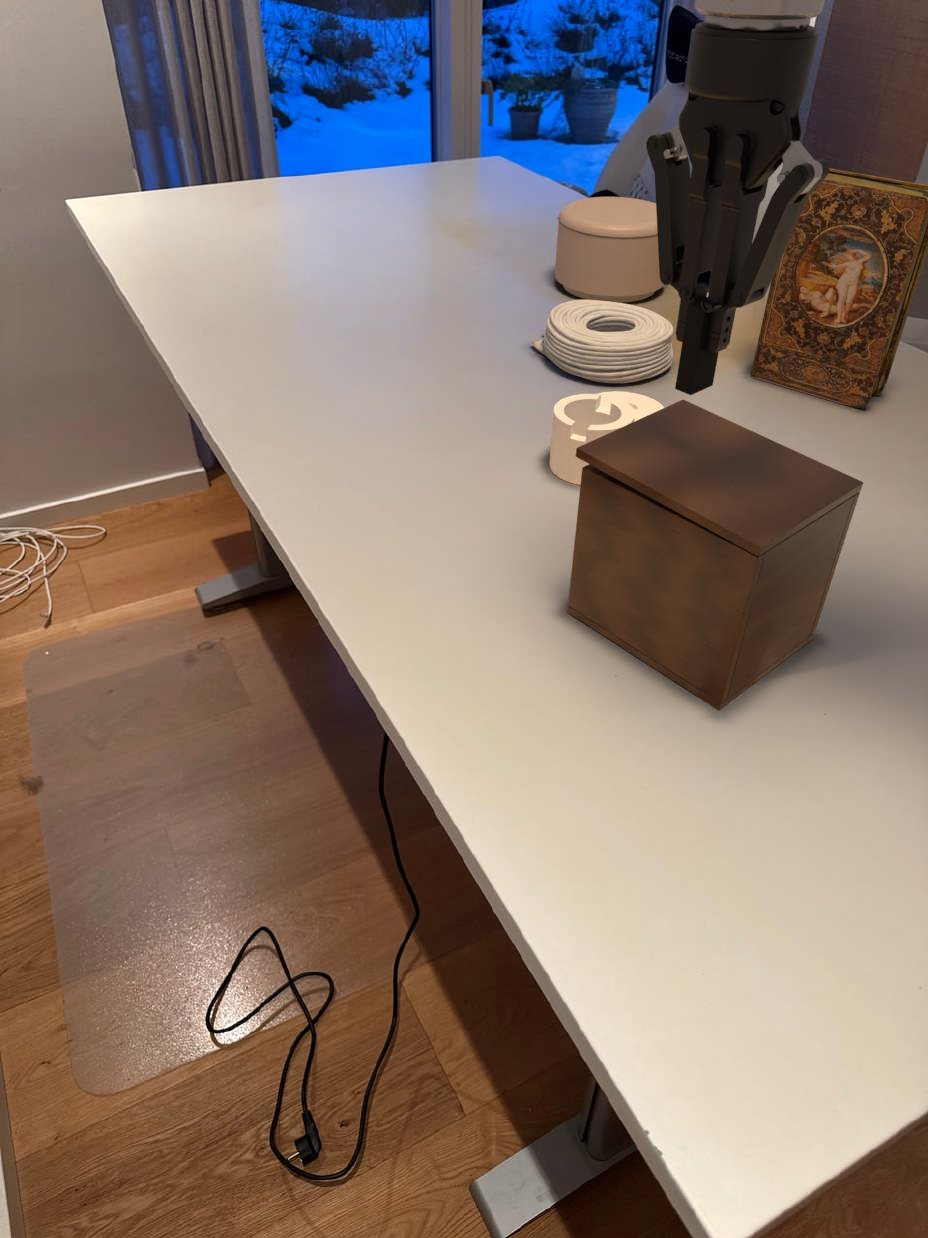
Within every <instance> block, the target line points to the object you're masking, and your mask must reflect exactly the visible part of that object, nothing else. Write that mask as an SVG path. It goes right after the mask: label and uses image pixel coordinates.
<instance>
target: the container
mask: <svg viewBox="0 0 928 1238" xmlns="http://www.w3.org/2000/svg"><path fill="white" fill-rule="evenodd" d="M557 220H558V224H557V226H558V227H557V238H556V253H555V265H554V266H555V268H554V278H555V280H556V281H557V282H558V283H559V284H561V285H562V286H563V289H564V290H565V291H566V292H568V293H569V294H571V295H573V296H575V297H578V298H581V299H583V300H599V301H610V302H617V303H631V302H637V301H642V300H645V299H647V298H650V297H651V296H653V295H654V294H655V293H656V292H657V291H658V290H660V289H662V288H663V287H664V286H665V285H664V284H663V283H662V282H661V280H660V273H659V252H658V232H657V212H656V202H653V201H650V200H645V199H639V198H633V197H624V196H594V197H587V198H586V197H585V198H581V199H576V200H573V201H572V202H571V201H570V203H568V204H566V205H565V206H563V208H561V210H560V211H559V214H558V217H557Z"/></svg>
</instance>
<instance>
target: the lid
mask: <svg viewBox="0 0 928 1238" xmlns="http://www.w3.org/2000/svg"><path fill="white" fill-rule="evenodd" d="M576 457H577V458H579V459H581V460H583V461H585V462H586V463H588V464H590V465H592V466H594V467H596V468H597V469H599V470H601V471H603V472H605V473H607V474H608V475H610V476H612V477H614V478H616V479H618V480H619V481H621V482H623V483H625V484H627V485H628V486H630V487H632V488H634V489H636V490H638V491H639V492H641V493H643V494H645V495H647V496H649V497H650V498H652V499H654V500H656V501H658V502H660V503H661V504H663V505H665V506H667V507H669V508H670V509H672V510H674V511H676V512H678V513H680V514H681V515H683V516H685V517H687V518H689V519H691V520H692V521H694V522H696V523H698V524H700V525H701V526H703V527H705V528H707V529H709V530H711V531H712V532H714V533H716V534H718V535H720V536H722V537H723V538H725V539H727V540H729V541H731V542H733V543H734V544H736V545H738V546H740V547H742V548H743V549H745V550H747V551H749V552H751V553H753V554H754V555H756V556H760V555H762V554H763V553H765V552H766V551H768V550H769V549H771V548H773V547H774V546H776V545H777V544H779V543H780V542H782V541H783V540H785V539H787V538H788V537H790V536H791V535H793V534H794V533H796V532H797V531H799V530H801V529H802V528H804V527H805V526H807V525H808V524H810V523H811V522H813V521H815V520H816V519H818V518H819V517H821V516H822V515H824V514H825V513H827V512H829V511H830V510H832V509H833V508H835V507H836V506H838V505H839V504H841V503H843V502H844V501H846V500H847V499H849V498H850V497H852V496H853V495H855V494H857V493H858V492H860V493H861V491H862V488H863V485H864V482H863V481H861V480H860V479H858V478H855V477H853V476H851V475H848V474H846V473H844V472H843V471H840V470H838V469H835V468H833V467H832V466H829V465H828V464H825V463H822V462H820V461H818V460H816V459H814V458H812V457H809V456H807V455H805V454H803V453H800V452H798V451H796V450H794V449H792V448H790V447H788V446H785V445H783V444H781V443H779V442H777V441H775V440H772V439H770V438H768V437H766V436H764V435H762V434H759V433H758V432H755V431H753V430H750V429H749V428H746V427H744V426H742V425H740V424H737V423H735V422H733V421H732V420H730V419H727V418H724V417H722V416H720V415H718V414H716V413H714V412H711V411H709V410H707V409H705V408H703V407H701V406H699V405H696V404H694V403H692V402H689V401H687V400H686V399H681V400H679V401H676V402H675V403H672V404H669V405H667V406H664V408H663V409H661V410H659V411H657V412H654V413H652V414H650V415H648V416H646V417H643V418H641V419H639V420H637V421H635V422H633V423H630V424H628V425H626V426H624V427H622V428H619V429H617V430H615V431H613V432H611V433H608V434H606V435H604V436H602V437H600V438H597V439H595V440H593V441H591V442H589V443H586V444H584V445H582V446H580V447H578V448H577V449H576Z"/></svg>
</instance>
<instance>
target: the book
mask: <svg viewBox="0 0 928 1238" xmlns="http://www.w3.org/2000/svg"><path fill="white" fill-rule="evenodd" d="M927 254H928V184H922V183H917V182H911V181H906V180H899V179H894V178H888V177H882V176H877V175H876V176H875V175H870V174H864V173H859V172H853V171H848V170H840V169H835V168H830V167H829V173H828V175H827V177H826V178H825V179H824V180H823V181H822V182H821V184H820V185H819V186H818V187H817V188H816V189H815V190H814V192H813V193H812V194H811V195H810V196H809V197H808V199H807V201H806V204H805V206H804V208H803V210H802V213H801V215H800V217H799V219H798V222H797V224H796V226H795V229H794V231H793V233H792V235H791V238H790V240H789V242H788V244H787V247H786V249H785V251H784V254H783V256H782V258H781V260H780V263H779V265H778V267H777V269H776V272H775V274H774V276H773V278H772V281H771V283H770V285H769V288H768V295H767V299H766V303H765V308H764V312H763V318H762V320H761V321H762V322H761V325H760V326H761V327H760V330H759V335H758V339H757V345H756V349H755V354H754V359H753V363H752V367H751V372H750V375H751V377H752V378H753V379H757V380H760V381H763V382H767V383H769V384H773V385H777V386H780V387H783V388H787V389H790V390H794V391H797V392H800V393H804V394H807V395H810V396H813V397H817V398H821V399H824V400H827V401H830V402H834V403H837V404H841V405H844V406H845V405H846V406H849V407H853V408H857V409H863V408H866V407H867V406H868V405H869V403H870V401H871V399H872V397H873V396H877V395H879V394H881V393H882V392H883V391H884V389H885V387H886V385H887V383H888V379H889V377H890V374H891V370H892V368H893V364H894V361H895V358H896V355H897V352H898V347H899V345H900V342H901V338H902V334H903V332H904V328H905V325H906V322H907V319H908V316H909V313H910V310H911V306H912V302H913V300H914V296H915V293H916V290H917V287H918V284H919V280H920V277H921V274H922V271H923V267H924V264H925V261H926V258H927V256H928V255H927Z"/></svg>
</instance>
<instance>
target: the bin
mask: <svg viewBox="0 0 928 1238" xmlns="http://www.w3.org/2000/svg"><path fill="white" fill-rule="evenodd" d="M579 487H580V488H579V497H578V505H577V515H576V524H575V534H574V543H573V544H574V545H573V552H572V564H571V573H570V582H569V591H568V601H567V602H568V604H567V613H568V614H569V615H571V616H572V617H574V618H575V619H577V620H578V621H580V622H582V623H583V624H584V625H587V627H590V628H591V629H593V630H594V631H595V632H597V633H599V634H600V635H602V636H603V637H604V638H606V639H608V640H610V641H611V642H613V643H614V644H616V645H618V647H620V648H621V649H624V651H626V652H628V653H629V654H631V655H633V656H634V657H636V658H638V659H639V660H640V661H642V662H644V663H645V664H647V665H648V666H650V667H651V668H653V669H654V670H656V671H657V672H659V673H661V674H663V675H664V676H665V677H667V678H668V679H670V680H671V681H673V682H674V683H676V684H678V685H679V686H680V687H682V688H684V689H685V690H687V691H688V692H690V693H692V694H693V695H695V696H696V697H698V698H699V699H701V700H703V701H704V702H706V703H707V704H709V705H710V706H712V707H713V708H715V709H716V710H717V711H718V710H719V711H720V710H722V709H723V708H724V707H725V706H727V705H728V704H729V703H730V702H732V701H733V700H735V698H737V697H738V696H740V695H741V694H742V693H743V692H744V691H745V692H746V690H747V689H749V688H751V686H753V685H754V684H755V683H757V682H758V681H759V680H761V679H762V678H763V677H764V676H766V675H768V673H770V672H771V671H772V670H774V669H775V668H776V667H777V666H779V665H780V664H782V663H783V662H784V661H785V660H787V659H789V657H790V656H792V655H793V654H795V652H797V651H799V650H800V649H801V648H803V647H804V646H805V645H806V644H807V643H809V642H810V641H812V640H813V639H814V636H815V634H816V633H815V632H816V630H817V626H818V624H819V621H820V618H821V616H822V611H823V608H824V606H825V603H826V598H827V596H828V594H829V590H830V587H831V583H832V582H833V581H832V580H833V578H834V574H835V571H836V568H837V565H838V563H839V559H840V556H841V554H842V553H841V552H842V550H843V547H844V543H845V540H846V537H847V534H848V531H849V528H850V524H851V522H852V518H853V516H854V513H855V511H856V510H855V509H856V506H857V503H858V500H859V497H860V494H861V491H860V492H858V493H857V494H855V495H853V496H852V497H850V498H849V499H847V500H846V501H844V502H843V503H841V504H839V505H838V506H836V507H835V508H833V509H832V510H830V511H829V512H827V513H825V514H824V515H822V516H821V517H819V518H818V519H816V520H815V521H813V522H811V523H810V524H808V525H807V526H805V527H804V528H802V529H801V530H799V531H797V532H796V533H794V534H793V535H791V536H790V537H788V538H787V539H785V540H783V541H782V542H780V543H779V544H777V545H776V546H774V547H773V548H771V549H769V550H768V551H766V552H765V553H763V554H762V555H760V556H756V555H754V554H753V553H751V552H749V551H747V550H745V549H743V548H742V547H740V546H738V545H736V544H734V543H733V542H731V541H729V540H727V539H725V538H723V537H722V536H720V535H718V534H716V533H714V532H712V531H711V530H709V529H707V528H705V527H703V526H701V525H700V524H698V523H696V522H694V521H692V520H691V519H689V518H687V517H685V516H683V515H681V514H680V513H678V512H676V511H674V510H672V509H670V508H669V507H667V506H665V505H663V504H661V503H660V502H658V501H656V500H654V499H652V498H650V497H649V496H647V495H645V494H643V493H641V492H639V491H638V490H636V489H634V488H632V487H630V486H628V485H627V484H625V483H623V482H621V481H619V480H618V479H616V478H614V477H612V476H610V475H608V474H607V473H605V472H603V471H601V470H599V469H597V468H596V467H594V466H592V465H590V464H589V465H587V466H584V467H583V468H582V476H581V485H579Z"/></svg>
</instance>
